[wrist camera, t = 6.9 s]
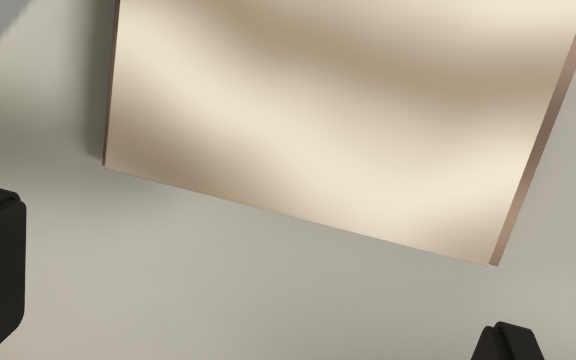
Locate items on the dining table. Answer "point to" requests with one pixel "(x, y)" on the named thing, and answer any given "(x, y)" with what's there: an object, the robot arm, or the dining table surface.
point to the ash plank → (342, 108)
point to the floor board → (571, 63)
